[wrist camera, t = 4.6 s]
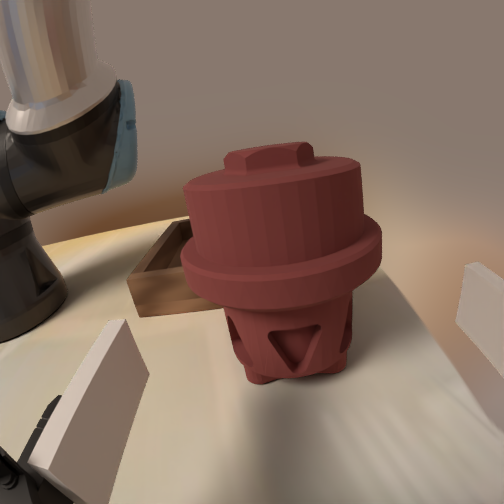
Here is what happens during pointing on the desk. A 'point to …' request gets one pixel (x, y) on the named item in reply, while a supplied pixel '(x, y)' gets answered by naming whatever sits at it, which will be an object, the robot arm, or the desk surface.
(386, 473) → the desk surface
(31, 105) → the robot arm
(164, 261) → the walnut tray
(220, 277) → the mechanical component
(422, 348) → the desk surface
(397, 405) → the desk surface
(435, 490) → the desk surface
